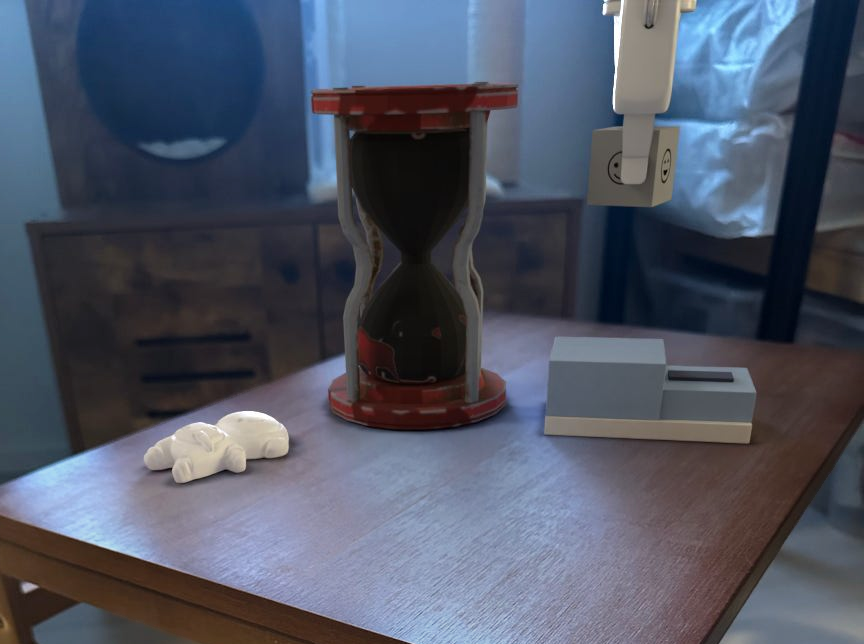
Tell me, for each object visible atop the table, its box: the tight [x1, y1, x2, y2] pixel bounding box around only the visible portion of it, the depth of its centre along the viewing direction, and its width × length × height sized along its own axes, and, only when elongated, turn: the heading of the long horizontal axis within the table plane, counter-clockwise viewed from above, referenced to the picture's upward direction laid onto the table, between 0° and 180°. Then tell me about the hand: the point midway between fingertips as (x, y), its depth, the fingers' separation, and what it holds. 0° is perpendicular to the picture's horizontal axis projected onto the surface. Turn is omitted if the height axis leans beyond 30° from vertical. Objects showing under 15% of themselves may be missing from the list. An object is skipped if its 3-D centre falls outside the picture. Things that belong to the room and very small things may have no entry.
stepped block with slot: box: [543, 336, 758, 445], centre depth 78 cm, size 16×8×6 cm, turn 77°
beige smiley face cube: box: [586, 125, 681, 208], centre depth 71 cm, size 5×5×5 cm
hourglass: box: [310, 81, 519, 431], centre depth 79 cm, size 16×16×25 cm
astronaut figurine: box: [143, 410, 290, 484], centre depth 74 cm, size 9×12×3 cm
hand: (632, 178), depth 72 cm, fingers closed on beige smiley face cube, 5 cm apart
